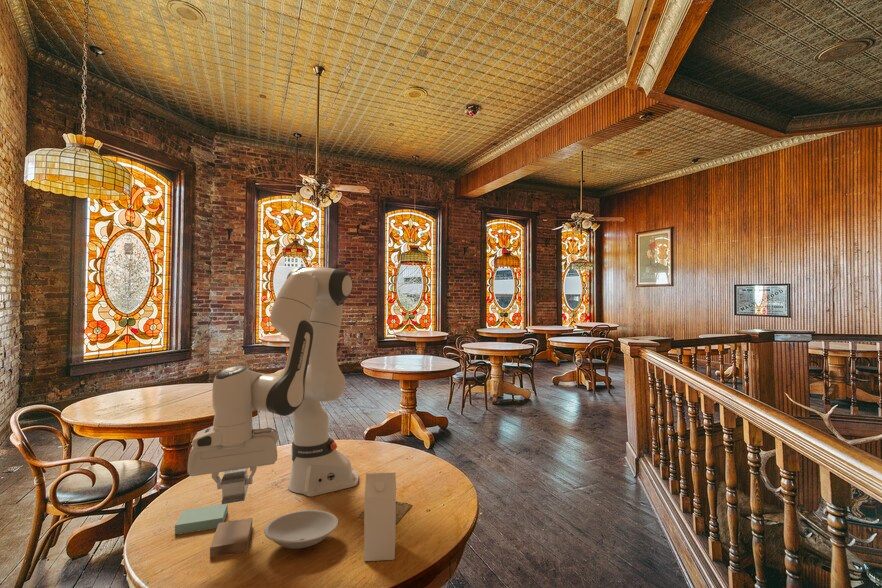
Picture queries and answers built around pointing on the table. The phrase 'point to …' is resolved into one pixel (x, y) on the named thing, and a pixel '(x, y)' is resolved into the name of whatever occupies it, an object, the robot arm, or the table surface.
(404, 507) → the speckled grey square slab
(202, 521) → the stand
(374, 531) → the milk carton
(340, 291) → the robot arm
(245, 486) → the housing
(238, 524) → the stand
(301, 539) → the dish
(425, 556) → the table surface
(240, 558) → the table surface
